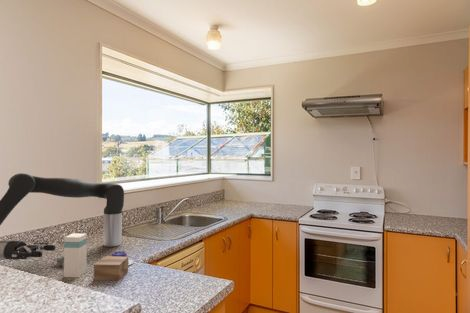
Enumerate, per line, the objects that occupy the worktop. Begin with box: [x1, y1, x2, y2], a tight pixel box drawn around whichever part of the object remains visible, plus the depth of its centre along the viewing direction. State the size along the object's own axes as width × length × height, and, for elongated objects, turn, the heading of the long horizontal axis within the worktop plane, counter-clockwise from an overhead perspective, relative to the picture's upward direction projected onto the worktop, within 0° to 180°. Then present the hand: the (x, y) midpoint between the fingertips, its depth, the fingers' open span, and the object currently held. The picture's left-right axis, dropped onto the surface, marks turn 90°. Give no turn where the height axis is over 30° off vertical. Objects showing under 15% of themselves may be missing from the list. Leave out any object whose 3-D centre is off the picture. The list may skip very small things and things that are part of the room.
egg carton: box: [55, 256, 64, 268], centre depth 140 cm, size 11×8×4 cm
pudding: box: [111, 250, 134, 266], centre depth 140 cm, size 12×12×5 cm
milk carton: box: [63, 232, 88, 278], centre depth 127 cm, size 6×6×16 cm
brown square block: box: [93, 255, 129, 281], centre depth 127 cm, size 10×10×6 cm
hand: (48, 251), depth 127 cm, fingers open, 8 cm apart
